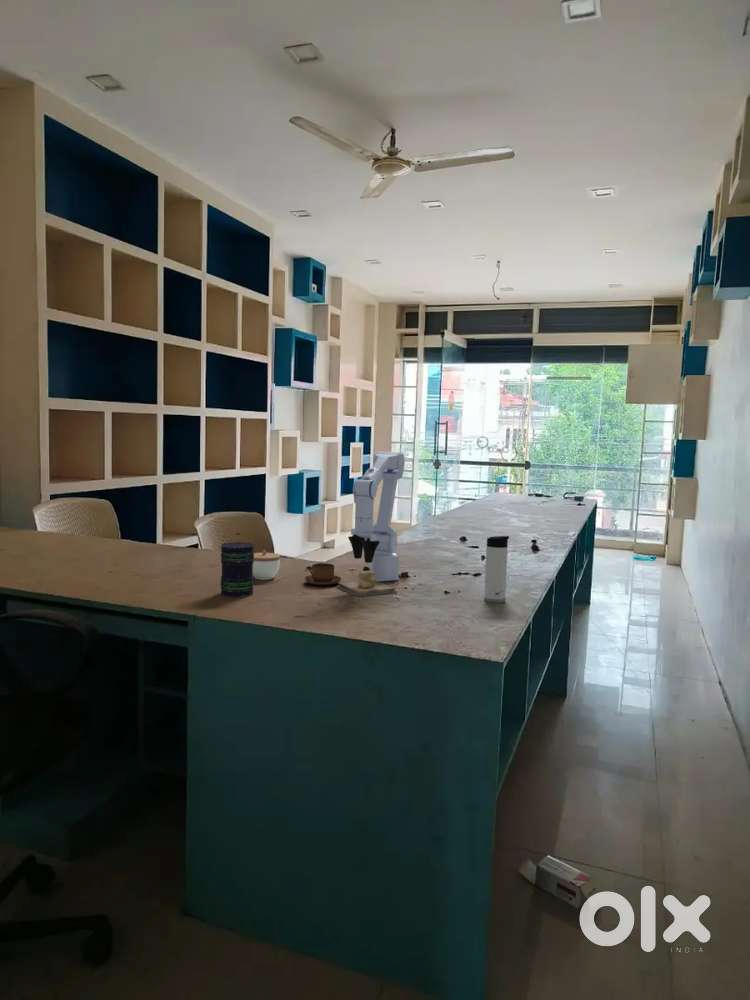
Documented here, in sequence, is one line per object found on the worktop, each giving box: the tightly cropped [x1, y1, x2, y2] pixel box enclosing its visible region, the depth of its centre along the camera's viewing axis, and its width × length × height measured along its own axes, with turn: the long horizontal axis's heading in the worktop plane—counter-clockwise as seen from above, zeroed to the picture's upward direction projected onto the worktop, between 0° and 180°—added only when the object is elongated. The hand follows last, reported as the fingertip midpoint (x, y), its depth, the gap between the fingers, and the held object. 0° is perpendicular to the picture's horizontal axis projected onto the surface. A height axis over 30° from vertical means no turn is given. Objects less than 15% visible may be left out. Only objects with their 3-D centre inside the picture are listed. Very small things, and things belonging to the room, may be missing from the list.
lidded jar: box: [253, 549, 281, 581], centre depth 231 cm, size 11×11×9 cm
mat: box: [336, 585, 398, 598], centre depth 217 cm, size 14×14×1 cm
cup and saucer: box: [304, 562, 342, 586], centre depth 225 cm, size 12×12×6 cm
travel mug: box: [483, 535, 510, 604], centre depth 207 cm, size 6×7×20 cm
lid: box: [338, 570, 396, 594], centre depth 217 cm, size 13×13×5 cm
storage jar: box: [220, 532, 255, 598], centre depth 207 cm, size 10×10×18 cm
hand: (363, 560), depth 216 cm, fingers open, 7 cm apart
